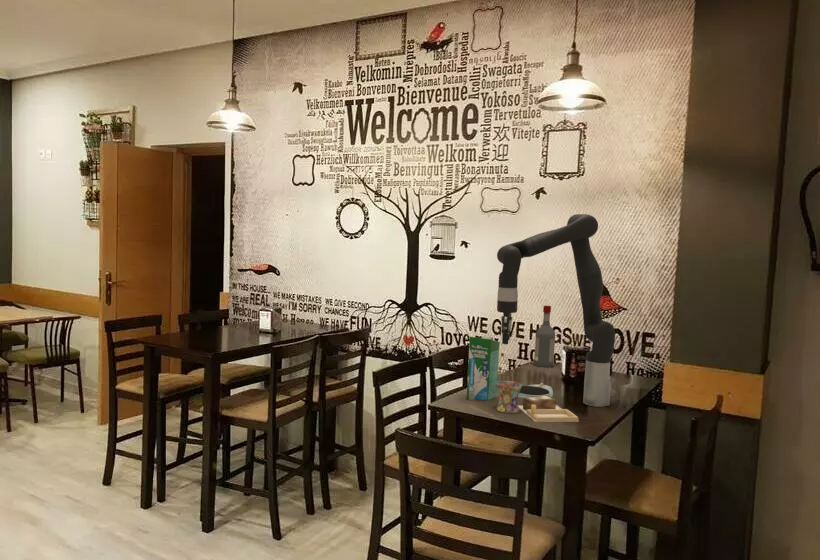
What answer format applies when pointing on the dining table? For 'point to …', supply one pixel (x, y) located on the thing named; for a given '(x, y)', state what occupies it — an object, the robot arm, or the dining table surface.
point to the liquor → (545, 342)
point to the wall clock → (535, 391)
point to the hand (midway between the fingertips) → (506, 342)
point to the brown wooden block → (539, 402)
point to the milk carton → (482, 368)
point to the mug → (508, 396)
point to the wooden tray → (550, 414)
